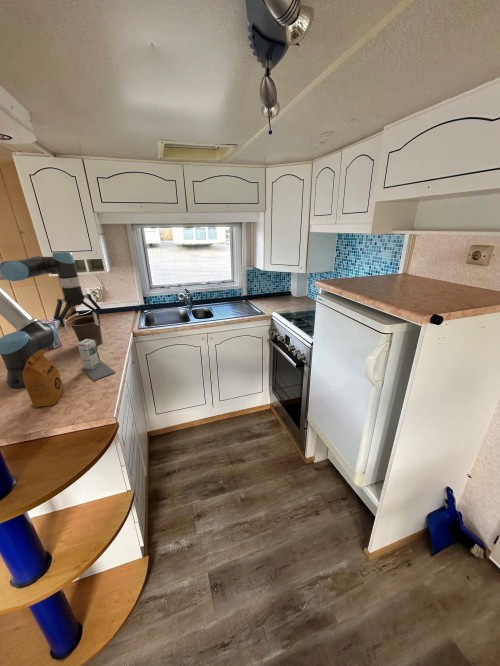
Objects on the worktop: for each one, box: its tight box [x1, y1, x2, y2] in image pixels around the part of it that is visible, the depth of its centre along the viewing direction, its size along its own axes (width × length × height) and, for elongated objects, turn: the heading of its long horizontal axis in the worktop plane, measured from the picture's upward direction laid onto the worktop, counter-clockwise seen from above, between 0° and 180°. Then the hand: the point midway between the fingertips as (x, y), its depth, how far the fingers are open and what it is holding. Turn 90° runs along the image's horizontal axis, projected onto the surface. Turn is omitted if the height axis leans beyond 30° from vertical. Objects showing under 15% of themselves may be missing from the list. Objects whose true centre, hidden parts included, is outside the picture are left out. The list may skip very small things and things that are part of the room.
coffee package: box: [23, 349, 66, 409], centre depth 112 cm, size 10×12×22 cm
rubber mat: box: [81, 360, 116, 382], centre depth 138 cm, size 10×18×1 cm, turn 48°
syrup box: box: [76, 339, 102, 369], centre depth 138 cm, size 6×6×14 cm
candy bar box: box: [39, 319, 62, 350], centre depth 164 cm, size 11×5×16 cm, turn 62°
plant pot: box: [69, 315, 104, 347], centre depth 165 cm, size 16×16×16 cm
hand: (82, 328), depth 133 cm, fingers open, 13 cm apart
